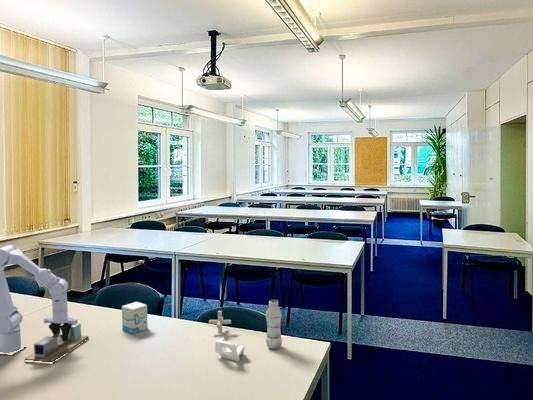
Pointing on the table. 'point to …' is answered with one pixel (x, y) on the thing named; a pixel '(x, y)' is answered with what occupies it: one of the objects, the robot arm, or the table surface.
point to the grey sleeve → (45, 347)
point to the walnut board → (60, 349)
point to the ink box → (134, 317)
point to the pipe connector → (219, 322)
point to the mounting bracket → (229, 349)
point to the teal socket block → (75, 332)
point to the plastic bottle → (273, 325)
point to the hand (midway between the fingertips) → (61, 340)
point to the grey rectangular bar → (59, 336)
